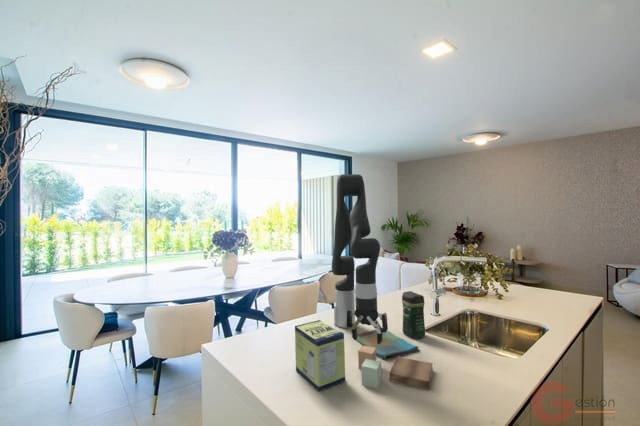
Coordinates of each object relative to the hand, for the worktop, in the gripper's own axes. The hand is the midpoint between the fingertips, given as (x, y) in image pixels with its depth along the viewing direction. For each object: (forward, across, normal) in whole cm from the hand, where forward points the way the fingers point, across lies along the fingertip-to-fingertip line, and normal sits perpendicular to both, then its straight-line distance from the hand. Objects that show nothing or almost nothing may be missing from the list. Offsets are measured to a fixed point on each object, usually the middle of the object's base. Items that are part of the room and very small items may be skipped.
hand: (367, 341), depth 104 cm
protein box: (+9, -13, -12) cm, 20 cm away
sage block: (+9, +4, -9) cm, 13 cm away
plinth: (+9, +15, 0) cm, 17 cm away
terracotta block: (+9, 0, 0) cm, 9 cm away
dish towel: (+10, +1, +20) cm, 22 cm away
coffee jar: (+9, +11, +34) cm, 37 cm away
